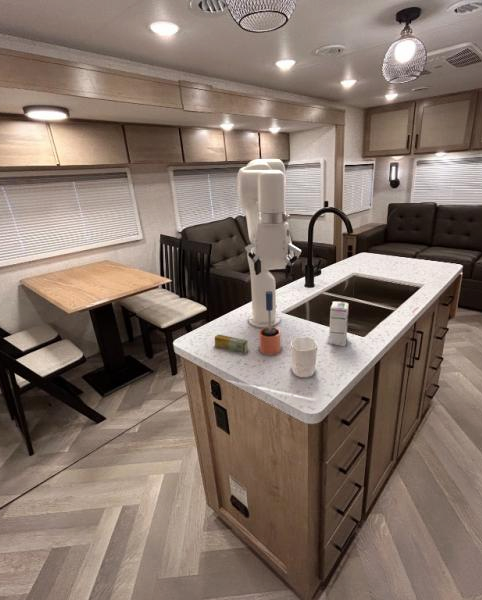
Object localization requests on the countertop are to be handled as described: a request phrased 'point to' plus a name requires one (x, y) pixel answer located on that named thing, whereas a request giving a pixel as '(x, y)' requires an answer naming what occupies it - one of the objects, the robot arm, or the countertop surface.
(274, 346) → the cup
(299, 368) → the white cup
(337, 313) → the syrup box
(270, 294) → the bottle brush
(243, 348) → the medication box
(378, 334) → the countertop surface
